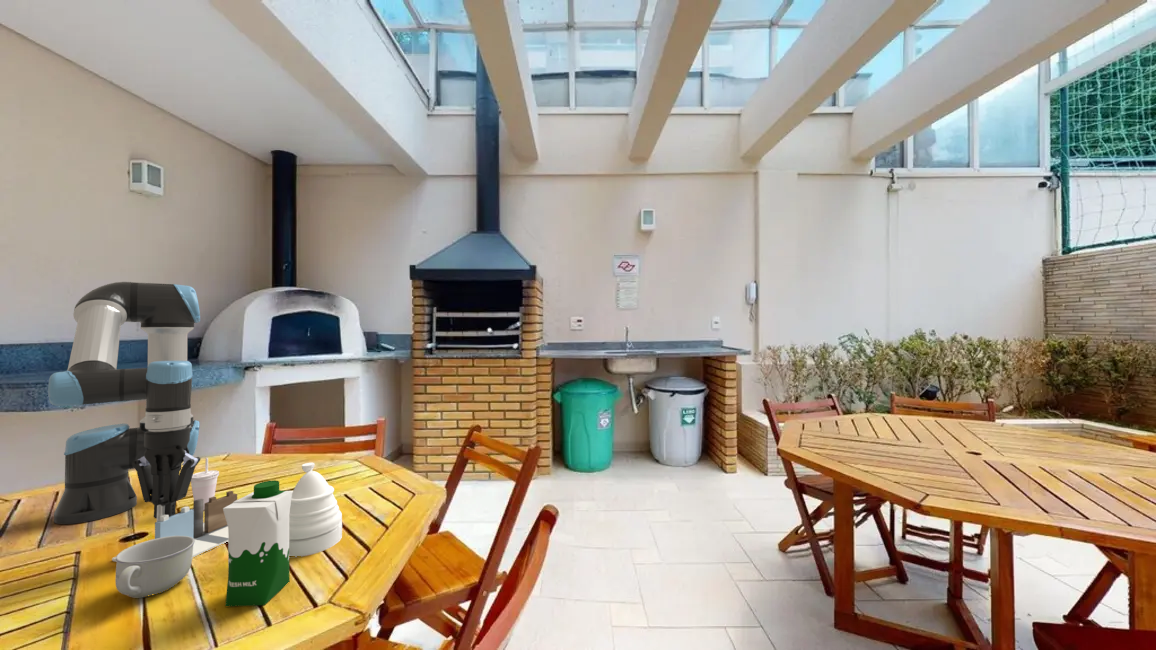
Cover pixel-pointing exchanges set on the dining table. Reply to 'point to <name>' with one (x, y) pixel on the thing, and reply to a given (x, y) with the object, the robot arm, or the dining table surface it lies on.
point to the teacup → (153, 565)
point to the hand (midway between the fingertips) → (164, 531)
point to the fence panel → (176, 524)
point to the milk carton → (258, 545)
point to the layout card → (207, 540)
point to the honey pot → (313, 515)
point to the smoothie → (204, 484)
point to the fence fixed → (211, 513)
